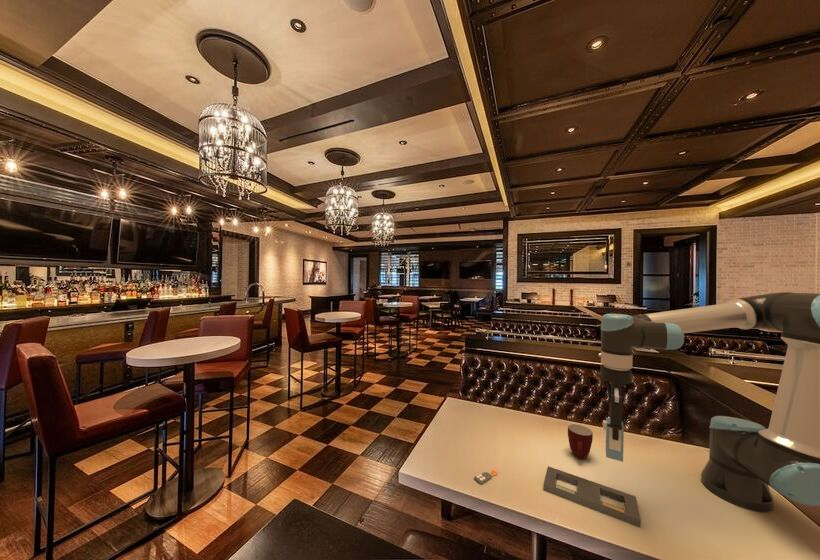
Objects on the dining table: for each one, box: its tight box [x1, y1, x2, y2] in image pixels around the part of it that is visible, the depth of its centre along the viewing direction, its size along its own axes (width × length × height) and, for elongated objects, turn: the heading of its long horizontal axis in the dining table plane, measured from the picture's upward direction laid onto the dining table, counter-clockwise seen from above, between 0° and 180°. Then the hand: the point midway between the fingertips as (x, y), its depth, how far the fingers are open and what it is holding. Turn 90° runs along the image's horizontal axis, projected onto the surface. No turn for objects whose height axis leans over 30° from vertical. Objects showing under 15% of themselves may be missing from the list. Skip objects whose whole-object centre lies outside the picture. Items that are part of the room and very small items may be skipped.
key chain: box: [473, 470, 502, 486], centre depth 96 cm, size 13×4×2 cm, turn 123°
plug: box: [602, 417, 625, 463], centre depth 84 cm, size 5×4×10 cm
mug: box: [567, 423, 594, 460], centre depth 106 cm, size 10×8×10 cm
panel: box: [543, 465, 642, 528], centre depth 87 cm, size 24×10×2 cm, turn 57°
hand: (614, 445), depth 84 cm, fingers closed on plug, 4 cm apart
